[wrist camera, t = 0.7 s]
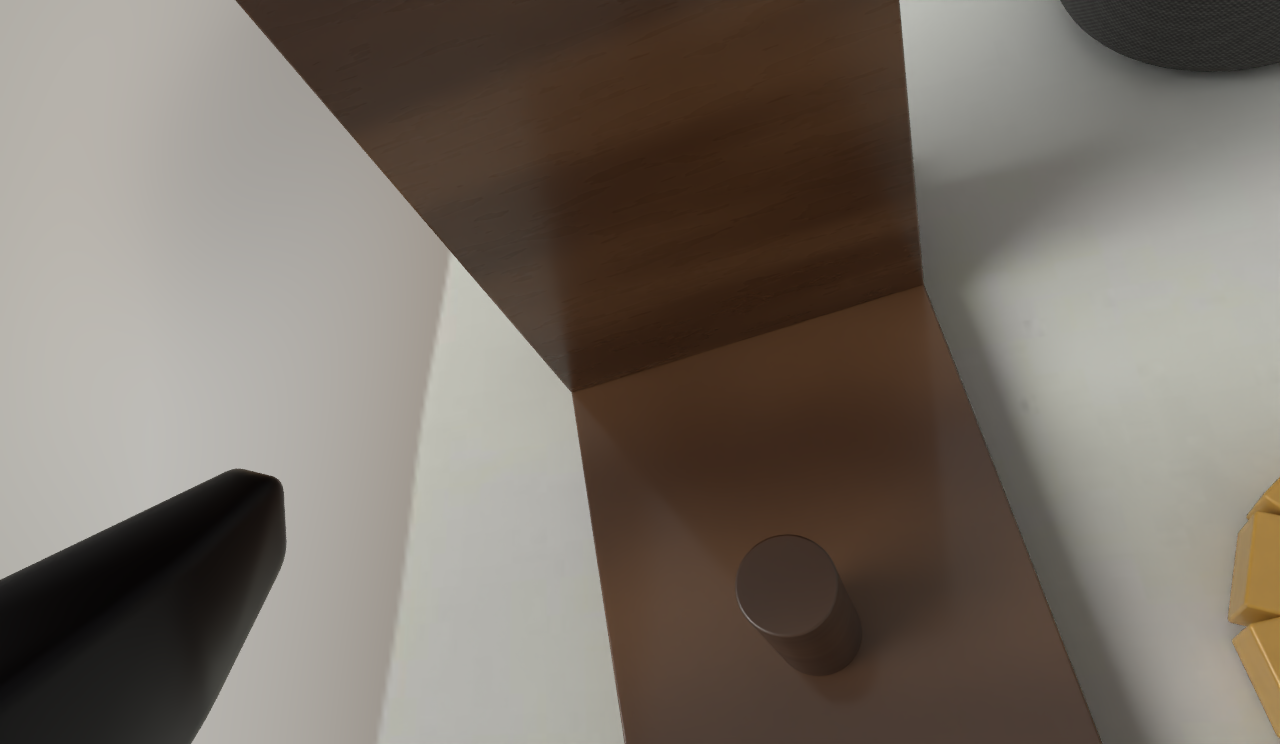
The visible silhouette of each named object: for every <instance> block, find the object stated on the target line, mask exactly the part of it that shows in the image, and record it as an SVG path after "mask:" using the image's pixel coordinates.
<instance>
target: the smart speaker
mask: <svg viewBox="0 0 1280 744" xmlns="http://www.w3.org/2000/svg"><path fill="white" fill-rule="evenodd" d="M1061 2H1062V3H1063V5H1064V7H1065V9H1066V10H1067V12H1068V13H1069V14H1070V16H1071V17H1072V18H1073V20H1074V21H1075V22H1076V23H1077V24H1078V25H1079V26H1080V27H1081V28H1082V29H1083V30H1084V31H1085V32H1087V33H1088V34H1089V35H1090V36H1092V37H1093V38H1094V39H1096V40H1097V41H1099V42H1100V43H1102V44H1103V45H1105V46H1107V47H1109V48H1110V49H1112V50H1114V51H1116V52H1118V53H1120V54H1123V55H1125V56H1127V57H1130V58H1133V59H1136V60H1139V61H1142V62H1145V63H1149V64H1153V65H1157V66H1161V67H1167V68H1173V69H1181V70H1190V71H1228V70H1239V69H1247V68H1253V67H1259V66H1264V65H1268V64H1273V63H1277V62H1280V0H1061Z"/></svg>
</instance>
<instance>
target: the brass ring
mask: <svg viewBox="0 0 1280 744" xmlns="http://www.w3.org/2000/svg"><path fill="white" fill-rule="evenodd" d="M1247 519H1248V521H1247V523H1246V524H1245V525H1244V526H1243V528H1242V529H1241V530H1240V531H1239V533H1238V538H1237V546H1236V554H1235V562H1234V571H1233V579H1232V587H1231V595H1230V604H1229V612H1228V621H1229V622H1231V623H1235V624H1239V625H1243V626H1247V627H1246V628H1245V629H1243V630H1242V631H1241V632H1240V633H1239V634H1238V635H1236V636H1235V637H1234V638H1233V639H1232V643H1233V645H1234V647H1235V649H1236V651H1237V653H1238V655H1239V657H1240V659H1241V661H1242V663H1243V666H1244V668H1245V670H1246V672H1247V674H1248V676H1249V678H1250V680H1251V682H1252V684H1253V687H1254V689H1255V691H1256V693H1257V695H1258V697H1259V699H1260V701H1261V703H1262V705H1263V707H1264V710H1265V712H1266V714H1267V716H1268V718H1269V720H1270V722H1271V724H1272V726H1273V728H1274V731H1275V733H1276V735H1277V736H1278V737H1279V738H1280V477H1279V478H1278V479H1277V480H1276V481H1275V483H1274V484H1273V485H1272V486H1271V487H1270V488H1269V489H1268V490H1267V491H1266V492H1265V493H1264V494H1263V495H1262V496H1261V498H1260V499H1259V500H1258V501H1257V503H1256V504H1255V505H1254V507H1253V508H1252V509H1251V510H1250V512H1249V513H1248V514H1247Z"/></svg>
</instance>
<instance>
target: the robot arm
mask: <svg viewBox="0 0 1280 744" xmlns="http://www.w3.org/2000/svg"><path fill="white" fill-rule="evenodd" d="M285 551H286V526H285V509H284V492H283V486H282V484H281V482H280V481H279V480H278V479H277V478H275V477H273V476H269V475H265V474H261V473H257V472H253V471H248V470H245V469H232V470H229V471H227V472H224V473H222V474H220V475H218V476H216V477H214V478H212V479H210V480H208V481H206V482H203V483H201V484H199V485H197V486H195V487H193V488H191V489H189V490H187V491H185V492H183V493H180V494H178V495H176V496H174V497H172V498H170V499H168V500H166V501H164V502H162V503H160V504H158V505H155V506H153V507H151V508H149V509H147V510H145V511H143V512H141V513H139V514H137V515H135V516H133V517H131V518H128V519H127V520H124V521H122V522H120V523H118V524H116V525H114V526H112V527H110V528H108V529H105V530H104V531H101V532H99V533H97V534H95V535H93V536H91V537H89V538H87V539H85V540H83V541H81V542H78V543H77V544H74V545H72V546H70V547H68V548H66V549H64V550H62V551H60V552H58V553H55V554H54V555H51V556H49V557H47V558H45V559H43V560H41V561H39V562H37V563H35V564H32V565H30V566H28V567H26V568H24V569H22V570H20V571H18V572H16V573H14V574H12V575H10V576H7V577H6V578H4V579H1V580H0V744H191V743H192V741H193V739H194V738H195V736H196V734H197V733H198V731H199V729H200V728H201V726H202V724H203V722H204V721H205V719H206V718H207V715H208V714H209V712H210V710H211V708H212V706H213V704H214V702H215V700H216V699H217V697H218V695H219V692H220V691H221V689H222V687H223V685H224V683H225V680H226V678H227V677H228V675H229V673H230V670H231V668H232V666H233V664H234V662H235V660H236V658H237V656H238V654H239V652H240V650H241V648H242V646H243V644H244V642H245V640H246V638H247V636H248V634H249V632H250V630H251V628H252V626H253V624H254V622H255V620H256V618H257V616H258V614H259V611H260V610H261V608H262V605H263V604H264V602H265V600H266V597H267V595H268V594H269V591H270V590H271V587H272V585H273V583H274V581H275V579H276V577H277V575H278V573H279V571H280V569H281V566H282V563H283V561H284V557H285Z"/></svg>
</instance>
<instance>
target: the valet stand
mask: <svg viewBox="0 0 1280 744" xmlns="http://www.w3.org/2000/svg"><path fill="white" fill-rule="evenodd" d="M236 1H237V3H238V4H239V5H240V6H241V7H242V8H243V9H244V10H245V12H246V13H247V14H248V15H249V17H250V18H251V19H252V20H253V21H254V22H255V24H256V25H257V26H258V27H259V28H260V29H261V31H262V32H263V33H264V34H265V35H266V36H267V38H268V39H269V40H270V41H271V42H272V43H273V44H274V46H275V47H276V48H277V49H278V50H279V52H280V53H281V54H282V55H283V56H284V58H285V59H286V60H287V61H288V62H289V63H290V64H291V66H292V67H293V68H294V69H295V70H296V72H297V73H298V74H299V75H300V76H301V77H302V78H303V80H304V81H305V82H306V83H307V84H308V85H309V87H310V88H311V89H312V90H313V91H314V93H315V94H316V95H317V96H318V97H319V98H320V99H321V100H322V102H323V103H324V104H325V105H326V107H327V108H328V109H329V110H330V111H331V112H332V113H333V115H334V116H335V117H336V118H337V119H338V121H339V122H340V123H341V124H342V125H343V126H344V128H345V129H346V130H347V131H348V132H349V133H350V135H351V136H352V137H353V138H354V139H355V140H356V141H357V143H358V144H359V145H360V146H361V147H362V149H363V150H364V151H365V152H366V153H367V154H368V156H369V157H370V158H371V159H372V160H373V161H374V162H375V164H376V165H377V166H378V167H379V168H380V170H381V171H382V172H383V173H384V174H385V175H386V176H387V178H388V179H389V180H390V181H391V182H392V184H393V185H394V186H395V187H396V188H397V189H398V190H399V191H400V193H401V194H402V195H403V196H404V198H405V199H406V200H407V201H408V202H409V203H410V204H411V206H412V207H413V208H414V209H415V210H416V212H417V213H418V214H419V215H420V216H421V217H422V219H423V220H424V221H425V222H426V223H427V224H428V226H429V227H430V228H431V229H432V230H433V231H434V233H435V234H436V235H437V236H438V237H439V238H440V240H441V241H442V242H443V243H444V244H445V245H446V247H447V248H448V249H449V250H450V251H451V252H452V254H453V255H454V256H455V257H456V258H457V259H458V261H459V262H460V263H461V264H462V265H463V266H464V268H465V269H466V270H467V271H468V272H469V273H470V275H471V276H472V277H473V278H474V279H475V280H476V282H477V283H478V284H479V285H480V286H481V287H482V289H483V290H484V291H485V292H486V293H487V294H488V296H489V297H490V298H491V299H492V300H493V301H494V303H495V304H496V305H497V306H498V307H499V308H500V310H501V311H502V312H503V313H504V314H505V315H506V317H507V318H508V319H509V320H510V321H511V322H512V324H513V325H514V326H515V327H516V328H517V329H518V331H519V332H520V333H521V334H522V335H523V336H524V338H525V339H526V340H527V341H528V342H529V343H530V345H531V346H532V347H533V348H534V349H535V350H536V352H537V353H538V354H539V355H540V356H541V357H542V359H543V360H544V361H545V362H546V363H547V364H548V366H549V367H550V368H551V369H552V370H553V371H554V373H555V374H556V375H557V376H558V377H559V378H560V380H561V381H562V382H563V383H564V384H565V385H566V387H567V388H568V389H569V390H570V391H571V392H572V397H573V404H574V411H575V417H576V424H577V430H578V437H579V444H580V450H581V457H582V464H583V470H584V477H585V483H586V490H587V497H588V503H589V510H590V517H591V523H592V530H593V536H594V543H595V550H596V556H597V563H598V570H599V576H600V583H601V589H602V596H603V603H604V609H605V616H606V623H607V629H608V636H609V642H610V649H611V656H612V662H613V669H614V675H615V682H616V689H617V695H618V702H619V709H620V715H621V722H622V728H623V735H624V742H625V744H1102V741H1101V739H1100V736H1099V734H1098V731H1097V729H1096V726H1095V723H1094V721H1093V718H1092V716H1091V713H1090V711H1089V708H1088V705H1087V703H1086V700H1085V698H1084V695H1083V693H1082V690H1081V687H1080V685H1079V682H1078V680H1077V677H1076V675H1075V672H1074V669H1073V667H1072V664H1071V662H1070V659H1069V657H1068V654H1067V651H1066V649H1065V646H1064V644H1063V641H1062V639H1061V636H1060V633H1059V631H1058V628H1057V626H1056V623H1055V620H1054V618H1053V615H1052V613H1051V610H1050V608H1049V605H1048V602H1047V600H1046V597H1045V595H1044V592H1043V590H1042V587H1041V584H1040V582H1039V579H1038V577H1037V574H1036V572H1035V569H1034V566H1033V564H1032V561H1031V559H1030V556H1029V554H1028V551H1027V548H1026V546H1025V543H1024V541H1023V538H1022V536H1021V533H1020V530H1019V528H1018V525H1017V523H1016V520H1015V518H1014V515H1013V512H1012V510H1011V507H1010V505H1009V502H1008V499H1007V497H1006V494H1005V492H1004V489H1003V487H1002V484H1001V481H1000V479H999V476H998V474H997V471H996V469H995V466H994V463H993V461H992V458H991V456H990V453H989V451H988V448H987V445H986V443H985V440H984V438H983V435H982V433H981V430H980V427H979V425H978V422H977V420H976V417H975V415H974V412H973V409H972V407H971V404H970V402H969V399H968V397H967V394H966V391H965V389H964V386H963V384H962V381H961V378H960V376H959V373H958V371H957V368H956V366H955V363H954V360H953V358H952V355H951V353H950V350H949V348H948V345H947V342H946V340H945V337H944V335H943V332H942V330H941V327H940V324H939V322H938V319H937V317H936V314H935V312H934V309H933V306H932V304H931V301H930V299H929V296H928V294H927V291H926V288H925V286H924V279H923V267H922V256H921V244H920V233H919V221H918V210H917V198H916V187H915V176H914V164H913V153H912V141H911V130H910V118H909V107H908V95H907V84H906V72H905V61H904V49H903V38H902V26H901V15H900V3H899V0H236Z"/></svg>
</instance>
